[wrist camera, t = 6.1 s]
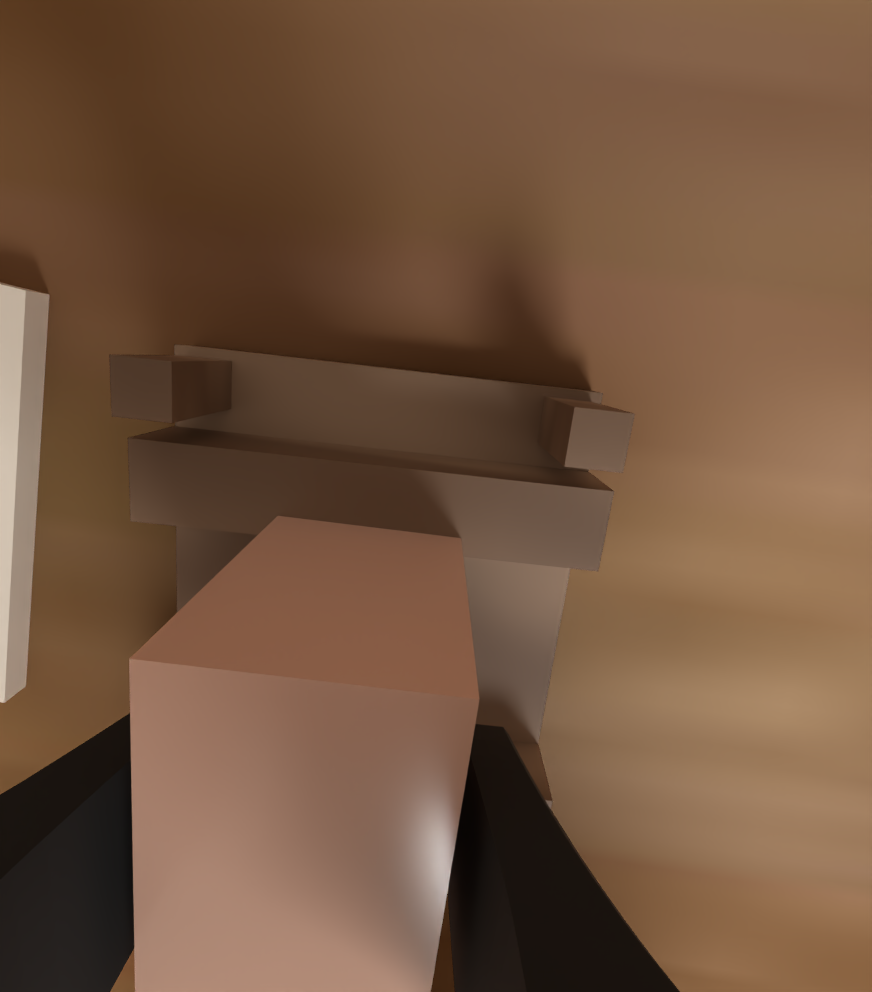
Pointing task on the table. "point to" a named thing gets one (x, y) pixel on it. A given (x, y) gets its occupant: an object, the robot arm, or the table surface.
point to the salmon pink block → (303, 765)
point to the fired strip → (19, 470)
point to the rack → (386, 484)
